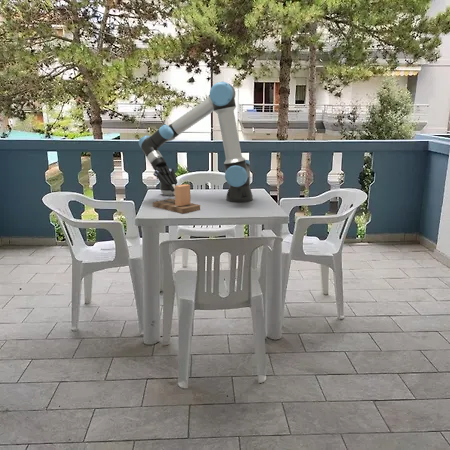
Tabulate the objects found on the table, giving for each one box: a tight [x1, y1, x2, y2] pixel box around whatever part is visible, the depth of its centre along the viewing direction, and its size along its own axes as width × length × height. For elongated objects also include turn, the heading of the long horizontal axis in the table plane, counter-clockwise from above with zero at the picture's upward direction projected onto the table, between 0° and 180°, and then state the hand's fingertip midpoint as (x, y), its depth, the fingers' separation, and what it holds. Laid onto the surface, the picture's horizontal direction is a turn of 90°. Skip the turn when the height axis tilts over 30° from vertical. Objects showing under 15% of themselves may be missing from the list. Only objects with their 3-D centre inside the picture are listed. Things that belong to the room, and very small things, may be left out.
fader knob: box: [174, 184, 192, 206], centre depth 230 cm, size 4×7×10 cm, turn 137°
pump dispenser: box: [159, 171, 177, 197], centre depth 268 cm, size 10×10×15 cm
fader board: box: [152, 198, 201, 215], centre depth 235 cm, size 24×12×3 cm, turn 47°
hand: (178, 195), depth 232 cm, fingers closed
